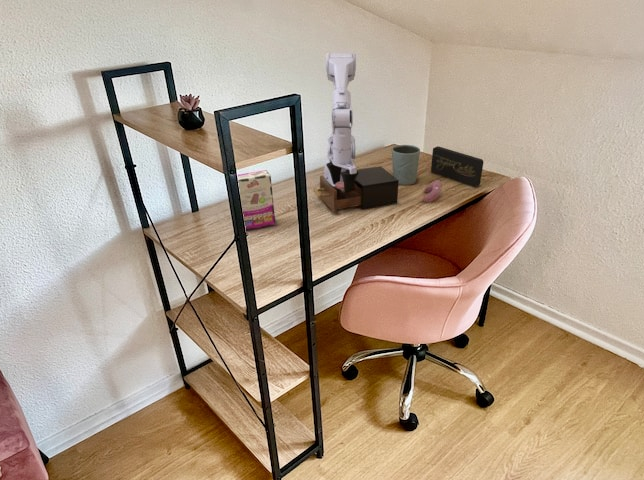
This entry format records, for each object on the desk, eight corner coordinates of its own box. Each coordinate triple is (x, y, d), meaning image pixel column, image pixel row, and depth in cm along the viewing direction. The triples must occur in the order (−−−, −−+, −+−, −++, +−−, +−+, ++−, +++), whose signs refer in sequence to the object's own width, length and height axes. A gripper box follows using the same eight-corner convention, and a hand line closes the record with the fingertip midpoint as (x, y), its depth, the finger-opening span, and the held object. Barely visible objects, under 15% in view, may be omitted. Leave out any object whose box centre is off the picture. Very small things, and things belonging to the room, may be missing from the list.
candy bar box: (271, 218, 156) (266, 169, 147) (275, 225, 152) (271, 175, 143) (236, 225, 152) (229, 174, 143) (240, 232, 148) (233, 180, 140)
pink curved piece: (432, 207, 166) (444, 191, 162) (421, 201, 166) (432, 184, 162) (434, 196, 174) (445, 180, 170) (423, 189, 174) (434, 173, 170)
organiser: (362, 209, 161) (362, 185, 157) (346, 193, 172) (346, 171, 168) (397, 203, 165) (398, 180, 161) (379, 188, 176) (380, 166, 172)
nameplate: (430, 172, 190) (433, 146, 184) (433, 170, 191) (436, 145, 185) (476, 187, 177) (480, 161, 171) (479, 186, 178) (483, 159, 172)
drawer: (323, 215, 157) (322, 192, 153) (310, 198, 168) (309, 177, 164) (369, 207, 162) (370, 185, 158) (353, 191, 173) (354, 170, 169)
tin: (332, 199, 164) (332, 184, 162) (341, 194, 167) (341, 180, 165) (343, 202, 162) (343, 188, 159) (351, 198, 165) (351, 183, 162)
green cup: (417, 186, 178) (419, 154, 171) (389, 184, 179) (390, 152, 173) (417, 176, 186) (420, 145, 180) (391, 174, 187) (392, 143, 181)
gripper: (365, 151, 152) (364, 192, 159) (341, 139, 162) (341, 178, 169) (345, 155, 149) (345, 197, 156) (322, 142, 159) (323, 182, 166)
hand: (342, 187), depth 162 cm, fingers open, 7 cm apart
